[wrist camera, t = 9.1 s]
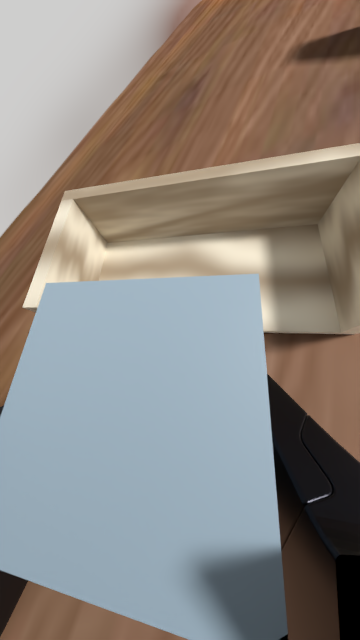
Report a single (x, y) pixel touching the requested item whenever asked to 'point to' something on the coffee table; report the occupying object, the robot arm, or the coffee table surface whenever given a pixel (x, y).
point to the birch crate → (226, 235)
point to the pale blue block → (147, 456)
